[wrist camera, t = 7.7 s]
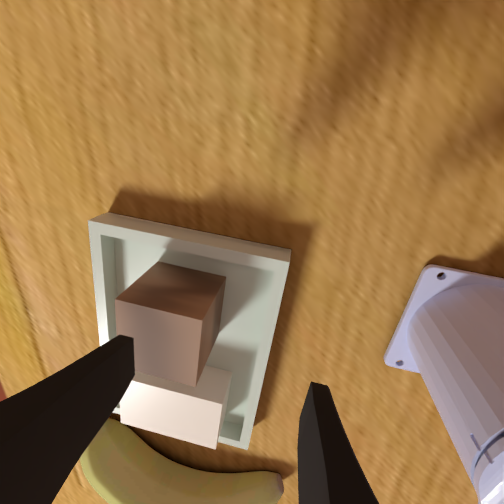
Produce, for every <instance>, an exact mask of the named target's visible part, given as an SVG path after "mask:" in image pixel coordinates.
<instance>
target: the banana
mask: <svg viewBox="0 0 504 504" xmlns="http://www.w3.org/2000/svg"><path fill="white" fill-rule="evenodd" d="M80 461H81V466H82V469H83V472H84V474H85V477H86V478H87V480H88V482H89V483H90V484H91V486H92V487H93V488H94V489H95V490H96V492H97V493H98V494H99V495H100V496H101V497H102V498H103V499H104V500H105V501H106V502H108V503H109V504H277V502H278V501H279V499H280V498H281V496H282V494H283V492H284V486H283V481H282V478H281V476H280V474H279V473H274V472H269V471H254V472H244V473H212V472H206V471H201V470H196V469H193V468H189V467H186V466H184V465H181V464H178V463H176V462H173V461H171V460H169V459H167V458H166V457H164V456H162V455H161V454H159V453H158V452H156V451H155V450H153V449H152V448H151V447H149V446H148V445H147V444H146V443H145V442H144V441H143V440H142V439H141V438H140V437H139V436H138V435H137V434H135V433H134V432H133V431H132V430H131V429H130V428H128V427H127V426H126V425H124V424H123V423H121V422H119V421H117V420H115V419H111V418H108V419H107V421H106V422H105V423H104V425H103V426H102V427H101V429H100V430H99V432H98V433H97V434H96V436H95V437H94V439H93V440H92V441H91V443H90V444H89V446H88V447H87V448H86V450H85V451H84V453H83V454H82V455H81V457H80Z"/></svg>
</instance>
